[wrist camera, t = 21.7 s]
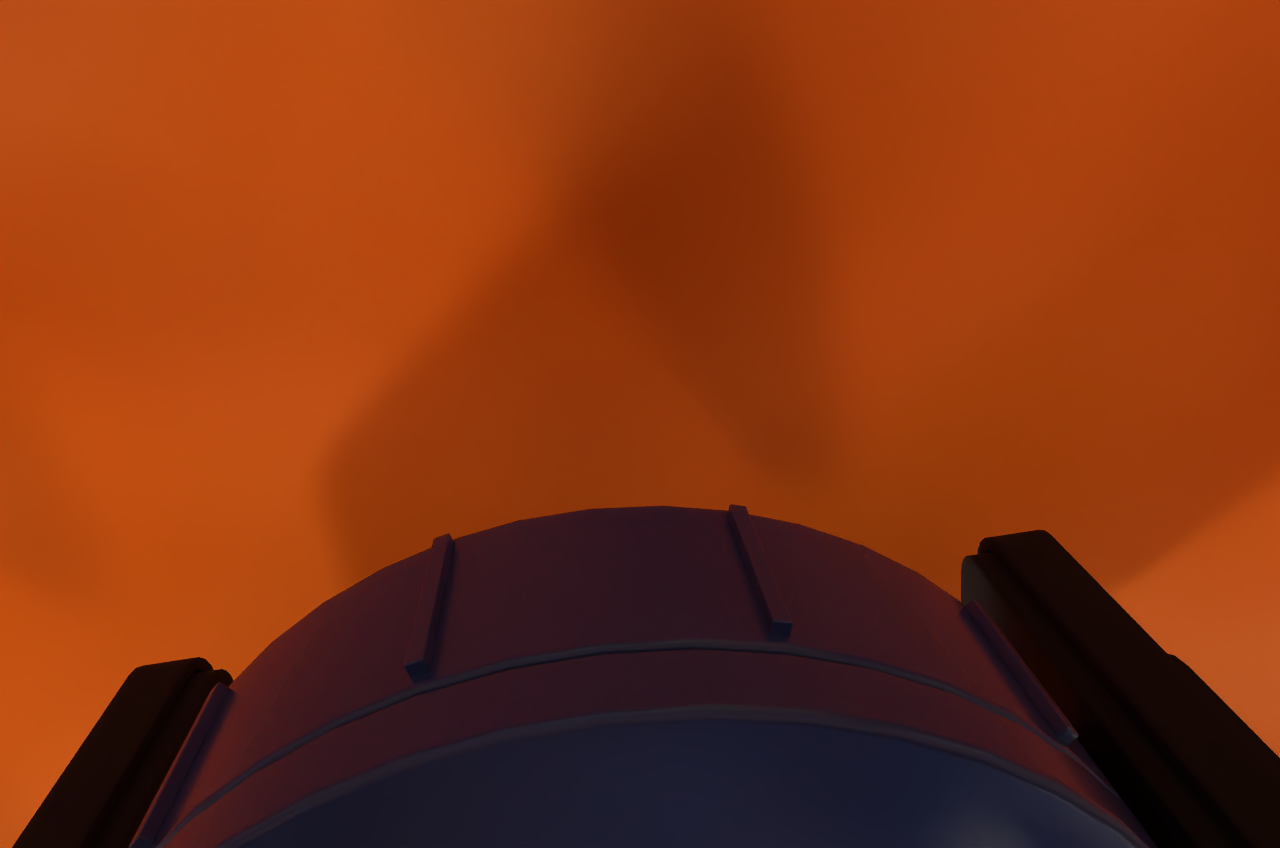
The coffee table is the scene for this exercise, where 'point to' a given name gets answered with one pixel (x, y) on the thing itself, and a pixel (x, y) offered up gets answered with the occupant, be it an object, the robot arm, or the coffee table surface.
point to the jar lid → (638, 705)
